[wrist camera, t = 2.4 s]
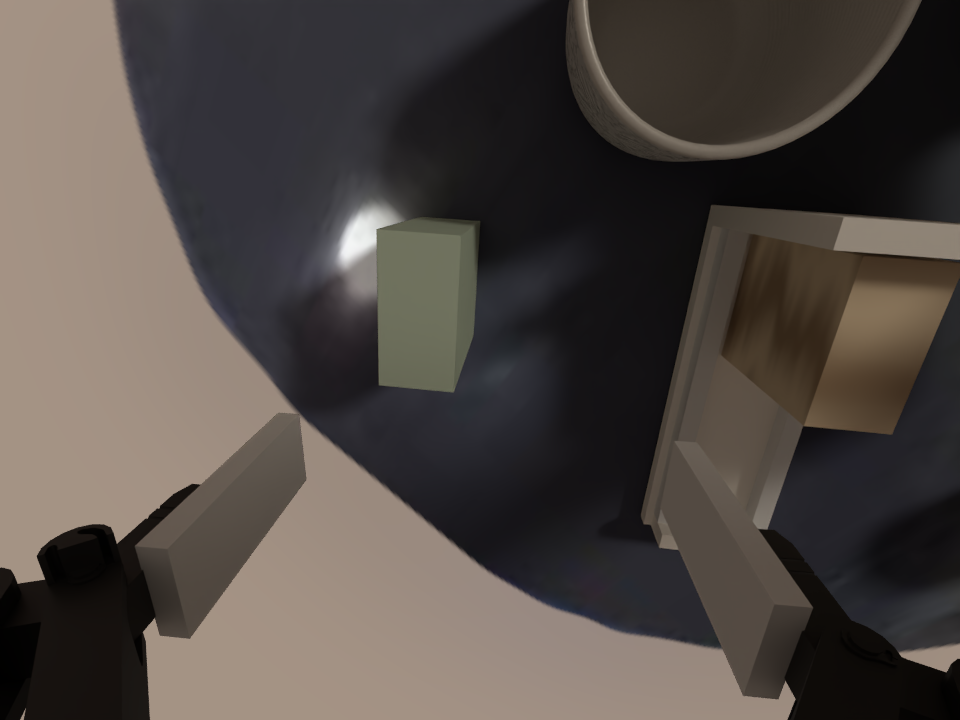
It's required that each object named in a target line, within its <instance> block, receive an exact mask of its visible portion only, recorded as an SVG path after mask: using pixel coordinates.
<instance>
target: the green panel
mask: <svg viewBox="0 0 960 720" xmlns="http://www.w3.org/2000/svg"><path fill="white" fill-rule="evenodd" d="M479 235H480V221H472V220H458V219H444V218H430V217H419V218H415V219H412V220H408V221H404V222H401V223H397V224H394V225H390V226H387V227H383V228H380V229H377V292H378V359H379V385H383V386H393V387H403V388H414V389H424V390H434V391H445V392H454V390H455V387H456V384H457V381H458V378H459V375H460V373H461V370H462V367H463V364H464V361H465V358H466V355H467V352H468V350H469V347H470V344H471V341H472V338H473V333H474V317H475V301H476V284H477V268H478V252H479Z"/></svg>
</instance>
